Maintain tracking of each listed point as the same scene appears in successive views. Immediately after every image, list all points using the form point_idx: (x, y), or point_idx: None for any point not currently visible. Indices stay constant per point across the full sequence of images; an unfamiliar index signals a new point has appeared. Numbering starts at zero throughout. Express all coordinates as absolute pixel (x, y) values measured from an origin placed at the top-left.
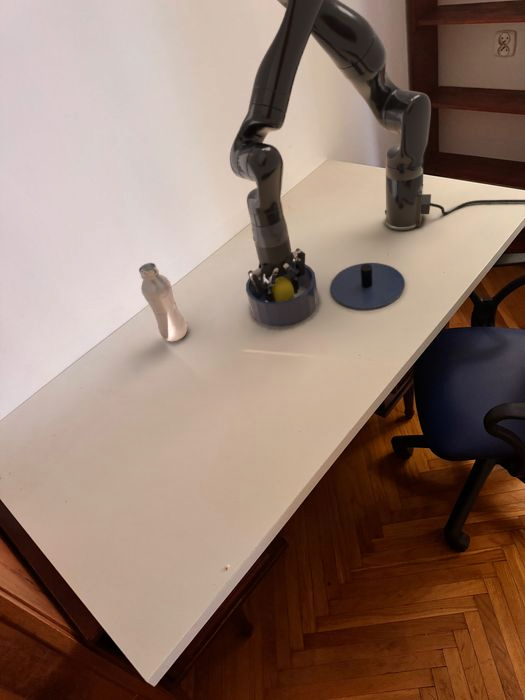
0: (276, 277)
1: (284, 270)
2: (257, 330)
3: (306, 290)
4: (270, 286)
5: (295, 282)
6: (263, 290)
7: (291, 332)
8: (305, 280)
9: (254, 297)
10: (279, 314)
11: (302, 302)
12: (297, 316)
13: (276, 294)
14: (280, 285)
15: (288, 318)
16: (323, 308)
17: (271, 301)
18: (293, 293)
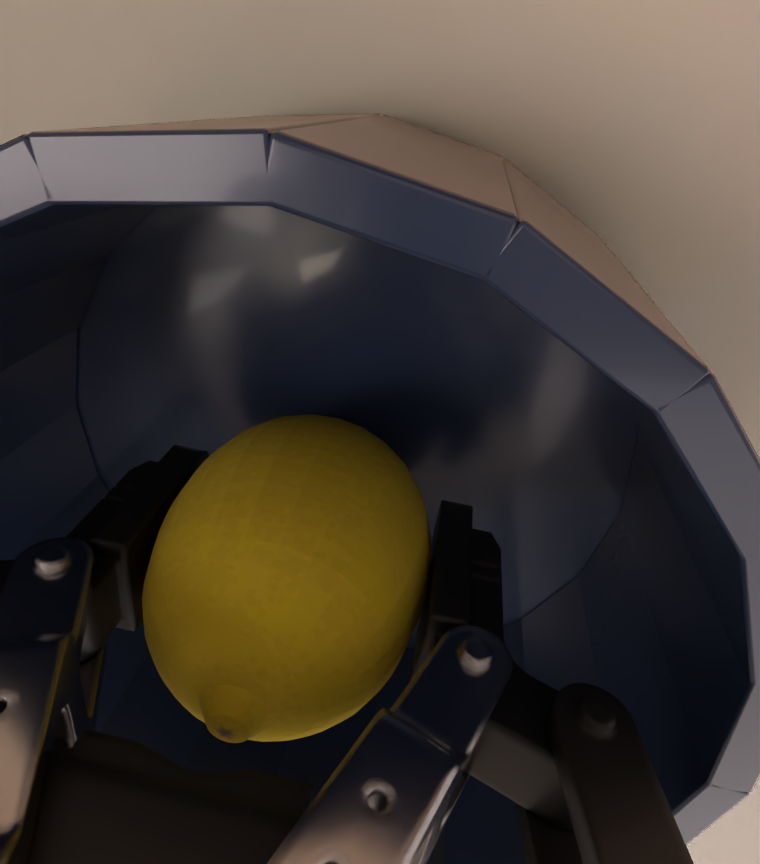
0: (273, 801)
1: (57, 833)
2: (756, 403)
3: (6, 207)
4: (441, 723)
5: (103, 532)
6: (573, 743)
7: (577, 80)
8: (35, 506)
9: (739, 738)
10: (630, 278)
11: (239, 124)
12: (411, 135)
13: (404, 564)
14: (296, 629)
15: (528, 188)
16: (88, 127)
17: (469, 543)
18: (221, 449)
